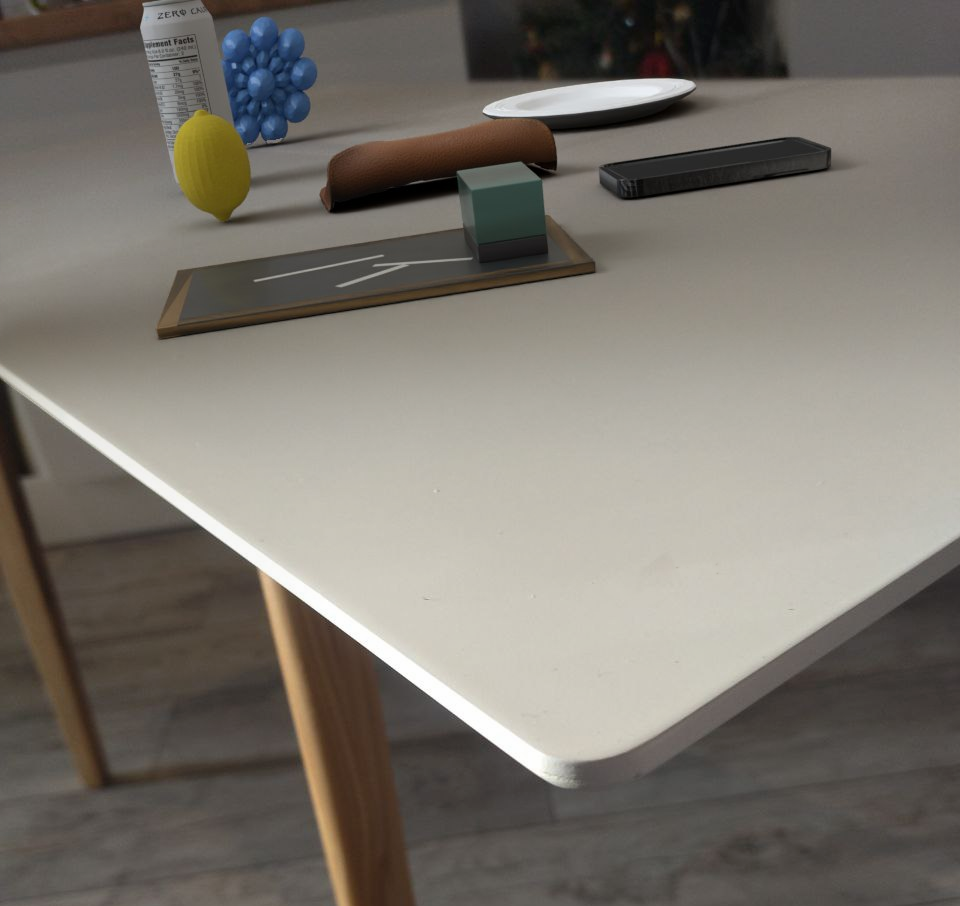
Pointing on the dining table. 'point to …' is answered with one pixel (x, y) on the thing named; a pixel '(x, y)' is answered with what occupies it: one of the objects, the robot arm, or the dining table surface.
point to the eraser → (502, 211)
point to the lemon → (212, 164)
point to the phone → (713, 166)
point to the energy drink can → (183, 64)
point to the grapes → (266, 79)
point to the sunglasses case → (436, 157)
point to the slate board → (352, 279)
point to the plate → (593, 102)
